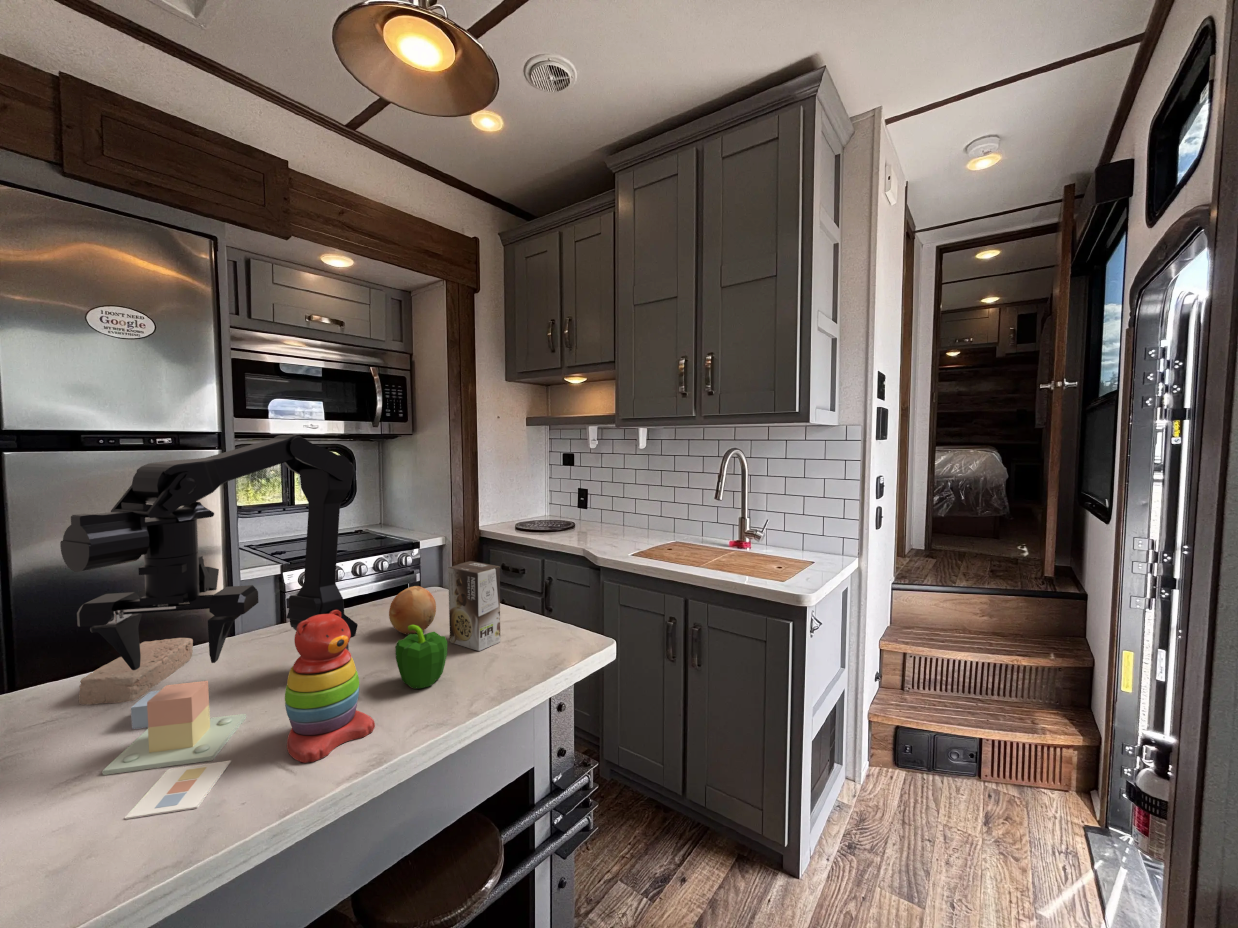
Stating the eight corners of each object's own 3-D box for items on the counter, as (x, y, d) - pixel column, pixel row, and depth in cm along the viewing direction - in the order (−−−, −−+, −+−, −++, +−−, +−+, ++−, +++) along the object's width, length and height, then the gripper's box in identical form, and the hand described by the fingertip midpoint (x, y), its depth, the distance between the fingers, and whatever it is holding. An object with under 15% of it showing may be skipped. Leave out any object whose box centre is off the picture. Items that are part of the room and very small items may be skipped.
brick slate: (189, 708, 84) (188, 687, 84) (172, 725, 80) (171, 702, 79) (151, 712, 83) (150, 691, 83) (132, 730, 78) (130, 707, 78)
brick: (136, 702, 86) (134, 674, 86) (75, 707, 85) (73, 678, 84) (195, 660, 103) (194, 636, 102) (145, 663, 101) (144, 639, 101)
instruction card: (231, 761, 71) (231, 759, 71) (197, 807, 62) (197, 805, 62) (168, 770, 69) (168, 768, 69) (124, 819, 60) (124, 816, 60)
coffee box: (502, 641, 112) (501, 565, 111) (478, 652, 106) (477, 572, 105) (471, 632, 116) (471, 559, 115) (447, 642, 111) (447, 566, 110)
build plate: (246, 717, 82) (245, 691, 81) (212, 760, 71) (211, 730, 71) (152, 728, 78) (151, 701, 78) (102, 775, 68) (101, 744, 68)
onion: (404, 622, 122) (403, 580, 121) (445, 625, 121) (444, 581, 120) (379, 639, 112) (378, 592, 112) (423, 641, 111) (422, 594, 110)
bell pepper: (456, 681, 94) (455, 626, 93) (411, 698, 88) (409, 639, 87) (432, 667, 99) (431, 614, 99) (388, 682, 93) (387, 626, 93)
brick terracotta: (209, 703, 78) (208, 680, 77) (192, 721, 73) (191, 697, 73) (167, 708, 76) (166, 684, 76) (148, 727, 71) (147, 702, 71)
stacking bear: (306, 767, 70) (302, 634, 68) (267, 743, 75) (263, 619, 74) (381, 728, 79) (378, 611, 78) (342, 709, 84) (339, 599, 83)
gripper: (270, 539, 83) (273, 637, 84) (126, 545, 78) (130, 649, 79) (240, 555, 72) (244, 667, 73) (71, 563, 67) (77, 683, 68)
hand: (176, 665), depth 74 cm, fingers open, 9 cm apart
